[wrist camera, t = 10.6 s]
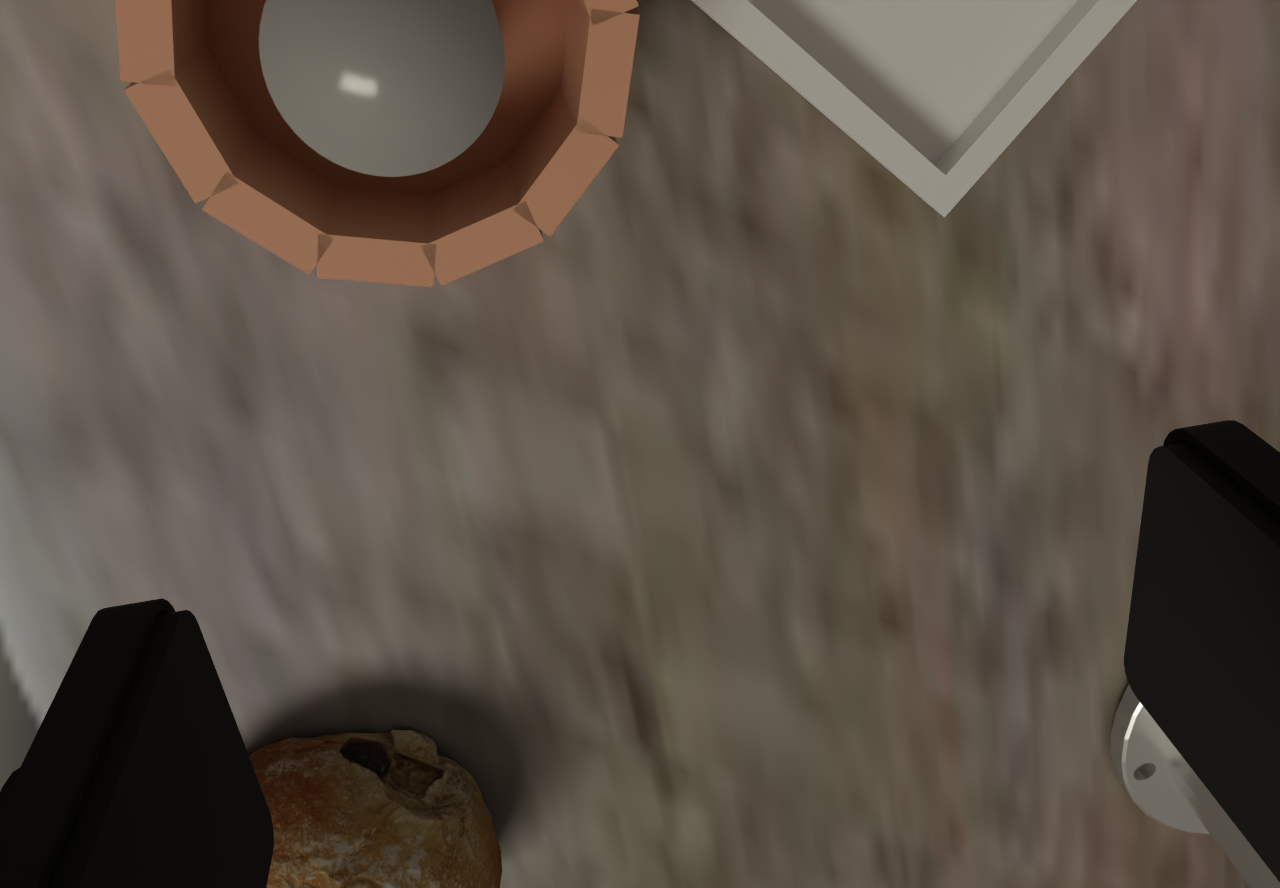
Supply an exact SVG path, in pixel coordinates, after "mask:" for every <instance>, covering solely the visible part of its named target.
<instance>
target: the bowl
mask: <svg viewBox="0 0 1280 888" xmlns="http://www.w3.org/2000/svg"><path fill="white" fill-rule="evenodd" d="M492 2H493V6H494V9H495V12H496V15H497V18H498V21H499V24H500V28H501V33H502V37H503V42H504V52H505V74H504V80H503V87H502V91H501V95H500V98H499V101H498V104H497V107H496V109H495V111H494V113H493V116H492V118H491V119H490V121H489V123H488V124H487V126H486V128H485V129H484V131H483V132H482V133H481V134H480V136H479V137H478V138H477V139H476V140H475V142H474V143H473V144H472V145H470V146H469V147H468V148H467V149H466V150H465V151H464V152H463V153H461V154H460V155H459V156H457V157H456V158H454V159H453V160H451V161H450V162H448V163H446V164H444V165H442V166H440V167H438V168H435V169H432V170H430V171H427V172H424V173H419V174H415V175H410V176H400V177H384V176H374V175H369V174H363V173H360V172H356V171H353V170H350V169H347V168H345V167H343V166H340V165H338V164H336V163H334V162H332V161H330V160H328V159H327V158H325V157H323V156H322V155H320V154H319V153H317V152H316V151H315V150H313V149H312V148H311V147H309V146H308V145H307V144H306V143H305V142H304V141H303V140H302V139H301V138H300V137H299V136H298V135H297V134H295V132H294V131H293V130H292V129H291V127H290V126H289V125H288V124H287V123H286V121H285V120H284V118H283V117H282V115H281V114H280V112H279V111H278V109H277V107H276V106H275V104H274V102H273V99H272V97H271V95H270V93H269V91H268V88H267V85H266V82H265V79H264V76H263V71H262V66H261V61H260V52H259V31H260V22H261V17H262V13H263V8H264V5H265V3H266V0H115V4H116V19H117V34H118V49H119V64H120V79H121V81H126V82H132V83H131V84H129V85H128V86H127V87H126V88H125V89H124V91H125V93H126V94H127V96H128V98H129V99H130V101H131V102H132V104H133V105H134V107H135V109H136V110H137V112H138V113H139V115H140V117H141V118H142V120H143V121H144V123H145V125H146V126H147V128H148V129H149V131H150V132H151V134H152V136H153V137H154V139H155V140H156V142H157V144H158V145H159V147H160V148H161V150H162V151H163V153H164V155H165V156H166V158H167V159H168V161H169V163H170V164H171V166H172V167H173V169H174V170H175V172H176V174H177V175H178V177H179V178H180V180H181V182H182V183H183V185H184V186H185V188H186V189H187V191H188V193H189V194H190V196H191V197H192V199H193V201H194V202H195V203H197V202H200V201H202V200H204V199H206V198H208V200H207V201H206V203H205V205H204V207H203V208H202V210H203V211H205V212H206V213H208V214H210V215H211V216H213V217H214V218H216V219H218V220H219V221H221V222H223V223H224V224H226V225H228V226H229V227H231V228H233V229H234V230H236V231H237V232H239V233H241V234H242V235H244V236H246V237H247V238H249V239H251V240H252V241H254V242H256V243H257V244H259V245H260V246H262V247H264V248H265V249H267V250H269V251H270V252H272V253H274V254H275V255H277V256H279V257H280V258H282V259H283V260H285V261H287V262H288V263H290V264H292V265H293V266H295V267H297V268H298V269H300V270H302V271H303V272H305V273H306V274H308V275H310V273H311V272H312V270H313V269H314V267H315V266H316V264H317V278H327V279H339V280H351V281H363V282H376V283H388V284H400V285H412V286H425V287H434V273H435V275H436V277H437V279H438V281H439V283H440V284H441V286H442V285H445V284H447V283H449V282H452V281H454V280H456V279H458V278H461V277H463V276H465V275H468V274H470V273H472V272H475V271H477V270H479V269H481V268H484V267H486V266H488V265H491V264H493V263H495V262H497V261H500V260H502V259H504V258H507V257H509V256H511V255H514V254H516V253H518V252H520V251H523V250H525V249H527V248H530V247H532V246H534V245H537V244H539V243H541V242H543V241H544V239H543V235H542V231H543V232H544V233H546V234H547V235H549V236H551V235H552V233H553V232H554V231H555V229H556V228H557V227H558V225H559V224H560V223H561V221H562V220H563V219H564V218H565V216H566V215H567V214H568V212H569V211H570V210H571V208H572V207H573V206H574V204H575V203H576V202H577V200H578V199H579V198H580V196H581V195H582V194H583V192H584V191H585V190H586V188H587V187H588V186H589V185H590V183H591V182H592V181H593V179H594V178H595V177H596V175H597V174H598V173H599V171H600V170H601V169H602V167H603V166H604V165H605V163H606V162H607V161H608V159H609V158H610V157H611V155H612V154H613V153H614V151H615V150H616V149H617V148H618V146H619V144H618V142H617V140H616V138H615V137H621V138H622V137H623V130H624V123H625V116H626V109H627V102H628V95H629V87H630V80H631V73H632V66H633V59H634V52H635V45H636V38H637V31H638V24H639V17H640V15H639V14H638V13H637V12H636V11H635V10H634V9H633V8H635V7H638V6H639V5H638V2H637V0H492ZM541 230H542V231H541Z"/></svg>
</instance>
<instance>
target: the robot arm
mask: <svg viewBox="0 0 1280 888" xmlns="http://www.w3.org/2000/svg"><path fill="white" fill-rule="evenodd" d="M1124 667H1125V673H1126V676H1127V680H1128V683H1129V685H1128V687H1127V689H1126V691H1125V693H1124V695H1123V698H1122V700H1121V702H1120V704H1119V706H1118V708H1117V711H1116V715H1115V719H1114V723H1113V727H1112V732H1111V758H1112V762H1113V765H1114V768H1115V772H1116V775H1117V777H1118V779H1119V780H1120V781H1121V783H1122V785H1123V786H1124V788H1125V789H1126V791H1127V792H1128V794H1129V795H1130V797H1131V798H1132V800H1133V801H1134V802H1135V803H1136V804H1137V805H1138V806H1139V807H1140V808H1141V810H1142V811H1143V812H1144V813H1145V814H1146V815H1148V816H1149V817H1151V818H1153V819H1154V820H1156V821H1158V822H1159V823H1161V824H1163V825H1165V826H1168V827H1171V828H1175V829H1178V830H1181V831H1185V832H1192V833H1202V834H1210V835H1211V836H1212V837H1213V839H1214V840H1215V841H1216V843H1217V844H1218V845H1219V847H1220V848H1221V849H1222V851H1223V852H1224V853H1225V855H1226V856H1227V857H1228V858H1229V860H1230V861H1231V862H1232V864H1233V865H1234V866H1235V868H1236V869H1237V870H1238V872H1239V873H1240V874H1241V876H1242V877H1243V878H1244V880H1245V881H1246V882H1247V884H1248V885H1249V886H1250V888H1280V452H1278V451H1277V450H1276V449H1274V448H1273V447H1272V446H1270V445H1269V444H1268V443H1267V442H1265V441H1264V440H1263V439H1261V438H1260V437H1259V436H1257V435H1256V434H1255V433H1253V432H1252V431H1251V430H1249V429H1248V428H1247V427H1245V426H1244V425H1243V424H1241V423H1239V422H1237V421H1221V422H1215V423H1209V424H1203V425H1197V426H1191V427H1185V428H1179V429H1175V430H1173V431H1172V432H1170V433H1169V434H1168V436H1167V437H1166V439H1165V441H1164V445H1163V446H1160V447H1157V448H1155V449H1154V450H1153V452H1152V453H1151V455H1150V459H1149V463H1148V471H1147V479H1146V487H1145V494H1144V502H1143V510H1142V518H1141V526H1140V534H1139V542H1138V550H1137V558H1136V566H1135V574H1134V582H1133V590H1132V598H1131V606H1130V614H1129V622H1128V630H1127V638H1126V646H1125V654H1124ZM273 848H274V830H273V823H272V817H271V814H270V810H269V808H268V805H267V802H266V800H265V797H264V794H263V792H262V789H261V787H260V784H259V781H258V779H257V776H256V774H255V771H254V768H253V766H252V763H251V760H250V758H249V755H248V753H247V750H246V747H245V745H244V742H243V740H242V737H241V734H240V732H239V729H238V726H237V724H236V721H235V719H234V716H233V713H232V711H231V708H230V706H229V703H228V700H227V698H226V695H225V692H224V690H223V687H222V685H221V682H220V679H219V677H218V674H217V672H216V669H215V666H214V664H213V661H212V658H211V656H210V653H209V651H208V648H207V645H206V643H205V640H204V638H203V635H202V632H201V630H200V627H199V625H198V622H197V620H196V618H195V616H194V615H193V614H192V613H191V612H190V611H188V610H184V611H178V612H175V610H174V608H173V606H172V605H171V604H170V603H169V602H168V601H167V600H164V599H157V600H151V601H145V602H139V603H133V604H127V605H121V606H115V607H109V608H104V609H101V610H99V611H98V612H97V613H96V615H95V616H94V617H93V619H92V621H91V623H90V625H89V627H88V629H87V632H86V634H85V636H84V638H83V640H82V642H81V644H80V646H79V648H78V650H77V652H76V654H75V656H74V658H73V660H72V662H71V664H70V667H69V669H68V671H67V673H66V675H65V677H64V679H63V681H62V683H61V685H60V687H59V689H58V691H57V693H56V695H55V697H54V699H53V701H52V704H51V706H50V708H49V710H48V712H47V714H46V716H45V718H44V720H43V722H42V724H41V726H40V728H39V730H38V732H37V734H36V736H35V739H34V741H33V743H32V745H31V747H30V749H29V751H28V753H27V755H26V757H25V759H24V761H23V763H22V765H21V767H20V768H19V769H17V770H15V771H14V772H13V773H12V774H11V776H10V777H9V778H8V780H7V781H6V783H5V784H4V786H3V787H2V789H1V792H0V888H266V886H267V881H268V876H269V871H270V866H271V861H272V855H273Z"/></svg>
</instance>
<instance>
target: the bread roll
mask: <svg viewBox="0 0 1280 888" xmlns="http://www.w3.org/2000/svg"><path fill="white" fill-rule="evenodd" d="M249 758H250V760H251V763H252V766H253V768H254V771H255V774H256V776H257V779H258V781H259V784H260V787H261V789H262V792H263V794H264V797H265V800H266V802H267V805H268V808H269V810H270V814H271V817H272V823H273V830H274V848H273V855H272V861H271V866H270V871H269V876H268V881H267V886H266V888H500V881H501V874H502V864H501V850H500V846H499V843H498V839H497V837H496V833H495V830H494V826H493V822H492V820H491V812H490V811H489V810H488V809H487V807H486V805H485V803H484V801H483V798H482V794H481V792H480V789H479V787H478V784H477V783H476V782H475V780H474V779H473V777H472V776H471V774H470V773H469V772H468V771H467V770H466V769H464V768H463V767H462V766H460V765H459V764H458V763H457V762H455V761H453V760H451V759H449V758H446V757H442V756H440V755H438V753H437V746H436V744H435V742H434V740H433V738H430V737H429V736H427V735H425V734H422V733H419V732H417V731H414V730H391V731H390V733H355V732H346V733H339V734H332V735H325V736H318V737H312V738H302V737H292V738H288V739H285V740H282V741H278V742H275V743H272V744H269V745H266V746H264V747H262V748H260V749H258V750H256V751H254V752H253V753H252V754H250V755H249Z"/></svg>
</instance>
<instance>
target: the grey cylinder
mask: <svg viewBox="0 0 1280 888" xmlns="http://www.w3.org/2000/svg"><path fill="white" fill-rule="evenodd" d="M259 52H260V61H261V66H262V71H263V76H264V79H265V82H266V85H267V88H268V91H269V93H270V95H271V97H272V99H273V102H274V104H275V106H276V107H277V109H278V111H279V112H280V114H281V115H282V117H283V118H284V120H285V121H286V123H287V124H288V125H289V126H290V127H291V129H292V130H293V131H294V132H295V134H297V135H298V136H299V137H300V138H301V139H302V140H303V141H304V142H305V143H306V144H307V145H308V146H309V147H311V148H312V149H313V150H315V151H316V152H317V153H319V154H320V155H322V156H323V157H325V158H327V159H328V160H330V161H332V162H334V163H336V164H338V165H340V166H343V167H345V168H347V169H350V170H353V171H356V172H360V173H363V174H369V175H374V176H384V177H400V176H410V175H415V174H419V173H424V172H427V171H430V170H432V169H435V168H438V167H440V166H442V165H444V164H446V163H448V162H450V161H451V160H453V159H454V158H456V157H457V156H459V155H460V154H461V153H463V152H464V151H465V150H466V149H467V148H468V147H469V146H470V145H472V144H473V143H474V142H475V140H476V139H477V138H478V137H479V136H480V134H481V133H482V132H483V131H484V129H485V128H486V126H487V124H488V123H489V121H490V119H491V118H492V116H493V113H494V111H495V109H496V107H497V104H498V101H499V98H500V95H501V91H502V87H503V80H504V74H505V52H504V42H503V37H502V33H501V28H500V24H499V21H498V18H497V15H496V12H495V9H494V6H493V2H492V0H266V3H265V5H264V8H263V13H262V17H261V22H260V31H259Z"/></svg>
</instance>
